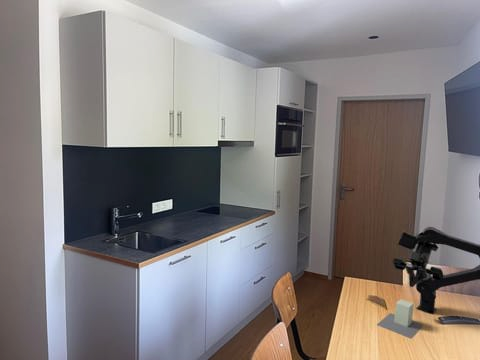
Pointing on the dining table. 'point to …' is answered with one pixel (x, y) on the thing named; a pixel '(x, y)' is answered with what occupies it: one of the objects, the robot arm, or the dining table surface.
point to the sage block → (403, 312)
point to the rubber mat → (400, 326)
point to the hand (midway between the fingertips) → (410, 286)
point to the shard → (376, 301)
